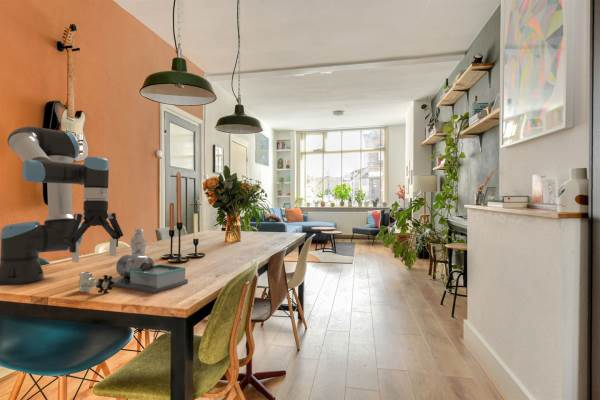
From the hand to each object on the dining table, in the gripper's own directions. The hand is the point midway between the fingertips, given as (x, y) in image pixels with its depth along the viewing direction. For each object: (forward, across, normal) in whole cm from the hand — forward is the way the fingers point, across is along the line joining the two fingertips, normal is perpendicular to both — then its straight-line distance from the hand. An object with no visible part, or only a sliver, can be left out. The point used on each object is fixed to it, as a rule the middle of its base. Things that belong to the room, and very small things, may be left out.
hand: (95, 258), depth 116 cm
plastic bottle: (+12, +28, +13) cm, 33 cm away
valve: (+12, 0, +1) cm, 12 cm away
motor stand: (+12, +17, -6) cm, 22 cm away
